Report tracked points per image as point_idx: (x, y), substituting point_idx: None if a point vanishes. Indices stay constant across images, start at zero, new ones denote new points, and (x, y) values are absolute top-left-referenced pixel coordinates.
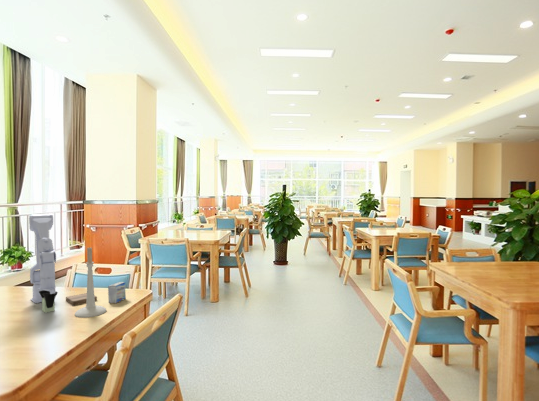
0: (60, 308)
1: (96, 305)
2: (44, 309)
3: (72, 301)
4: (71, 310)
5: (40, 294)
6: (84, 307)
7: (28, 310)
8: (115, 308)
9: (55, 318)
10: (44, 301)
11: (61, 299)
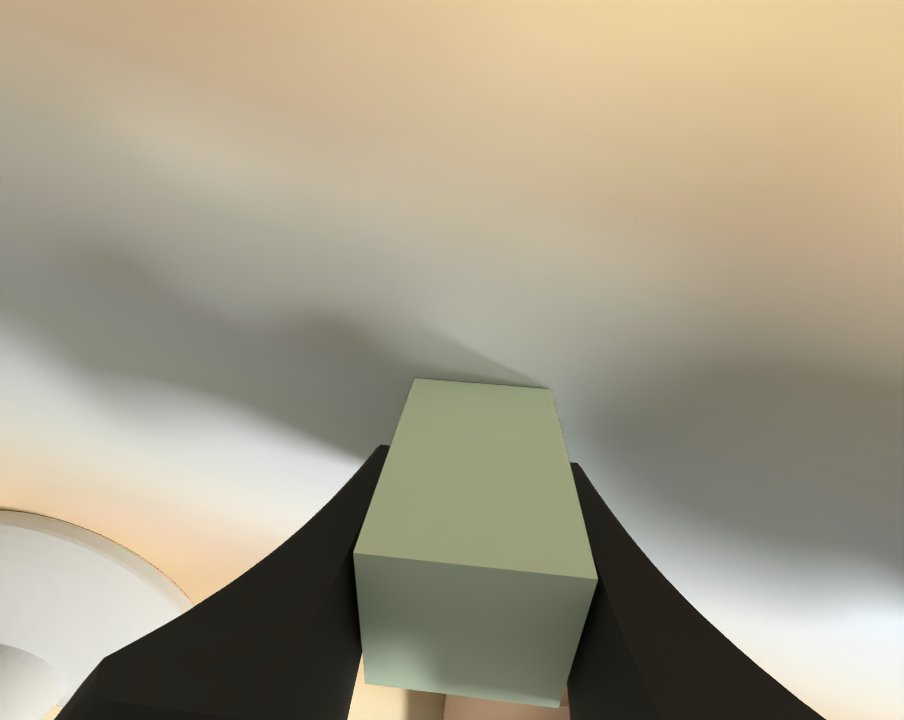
0: None
1: None
2: (423, 404)
3: None
4: None
5: (738, 679)
6: (50, 646)
7: (815, 257)
8: None
9: (37, 368)
10: (375, 511)
11: (841, 674)
